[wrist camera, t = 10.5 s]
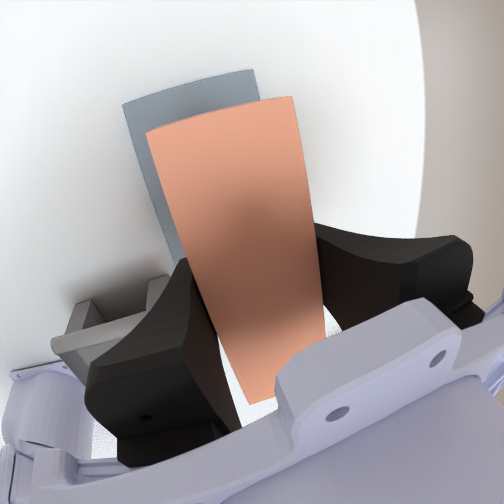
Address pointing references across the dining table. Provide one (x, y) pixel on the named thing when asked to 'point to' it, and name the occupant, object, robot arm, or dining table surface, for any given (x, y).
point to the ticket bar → (246, 231)
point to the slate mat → (174, 109)
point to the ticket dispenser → (98, 331)
